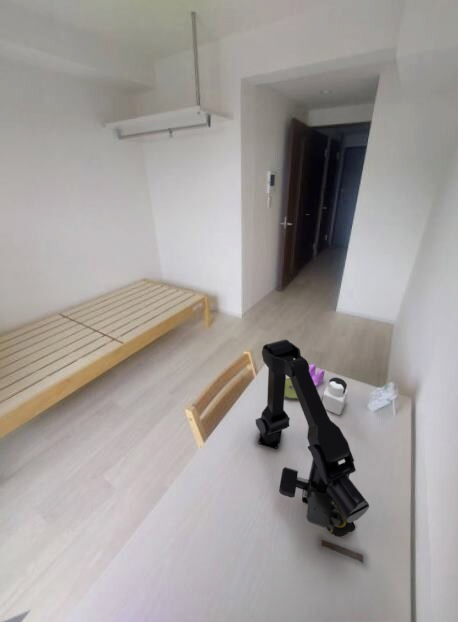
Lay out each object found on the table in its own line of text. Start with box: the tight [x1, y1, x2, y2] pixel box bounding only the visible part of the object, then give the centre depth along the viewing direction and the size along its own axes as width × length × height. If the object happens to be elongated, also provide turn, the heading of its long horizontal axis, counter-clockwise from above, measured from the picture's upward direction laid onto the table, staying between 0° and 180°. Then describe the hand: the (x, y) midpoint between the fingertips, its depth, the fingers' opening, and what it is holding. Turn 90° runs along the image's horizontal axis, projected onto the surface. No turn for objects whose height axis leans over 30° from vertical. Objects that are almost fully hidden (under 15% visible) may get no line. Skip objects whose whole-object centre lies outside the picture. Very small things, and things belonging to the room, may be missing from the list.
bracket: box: [309, 363, 325, 388], centre depth 111 cm, size 13×6×7 cm, turn 128°
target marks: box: [321, 539, 364, 562], centre depth 69 cm, size 9×13×1 cm
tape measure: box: [325, 504, 357, 538], centre depth 68 cm, size 7×7×4 cm
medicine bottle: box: [321, 377, 349, 416], centre depth 101 cm, size 7×7×12 cm
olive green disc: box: [284, 377, 298, 399], centre depth 110 cm, size 11×11×2 cm
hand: (313, 509), depth 71 cm, fingers closed
